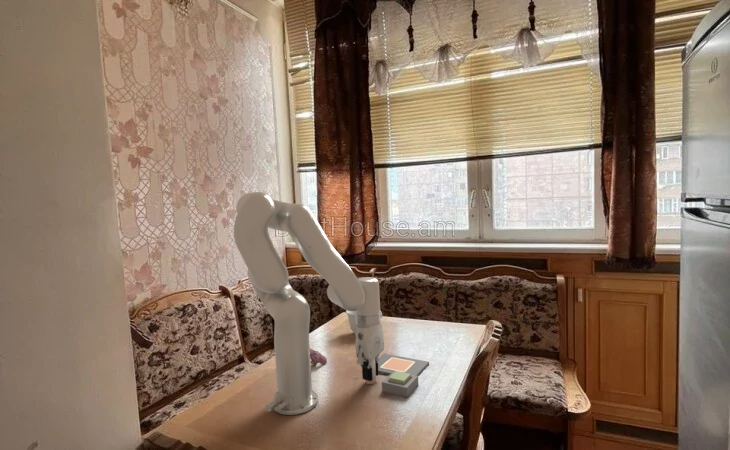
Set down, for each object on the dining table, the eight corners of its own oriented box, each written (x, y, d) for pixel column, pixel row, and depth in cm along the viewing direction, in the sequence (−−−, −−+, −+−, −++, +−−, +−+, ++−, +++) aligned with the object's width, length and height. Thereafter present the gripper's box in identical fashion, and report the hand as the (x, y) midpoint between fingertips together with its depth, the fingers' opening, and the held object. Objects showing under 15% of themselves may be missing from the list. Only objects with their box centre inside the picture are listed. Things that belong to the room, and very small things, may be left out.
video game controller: (299, 366, 138) (292, 352, 135) (305, 356, 141) (299, 342, 138) (322, 371, 133) (316, 357, 130) (329, 361, 137) (323, 346, 134)
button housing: (407, 398, 110) (407, 387, 110) (382, 392, 114) (381, 382, 114) (418, 385, 117) (418, 376, 117) (394, 380, 121) (393, 371, 121)
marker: (373, 385, 119) (371, 353, 118) (363, 383, 120) (361, 351, 120) (378, 380, 122) (377, 349, 121) (368, 378, 123) (367, 347, 123)
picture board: (413, 380, 121) (413, 377, 121) (365, 370, 129) (365, 367, 129) (429, 364, 132) (429, 361, 132) (384, 355, 141) (384, 353, 140)
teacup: (383, 338, 157) (382, 314, 157) (345, 339, 158) (344, 315, 157) (382, 328, 169) (381, 305, 169) (347, 329, 170) (346, 307, 169)
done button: (404, 387, 112) (404, 380, 112) (389, 384, 115) (389, 377, 115) (411, 380, 117) (410, 373, 116) (396, 377, 119) (396, 370, 119)
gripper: (365, 328, 111) (368, 391, 112) (391, 312, 125) (393, 368, 126) (342, 325, 114) (345, 386, 116) (370, 310, 128) (372, 364, 130)
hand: (370, 376), depth 121 cm, fingers closed on marker, 3 cm apart
